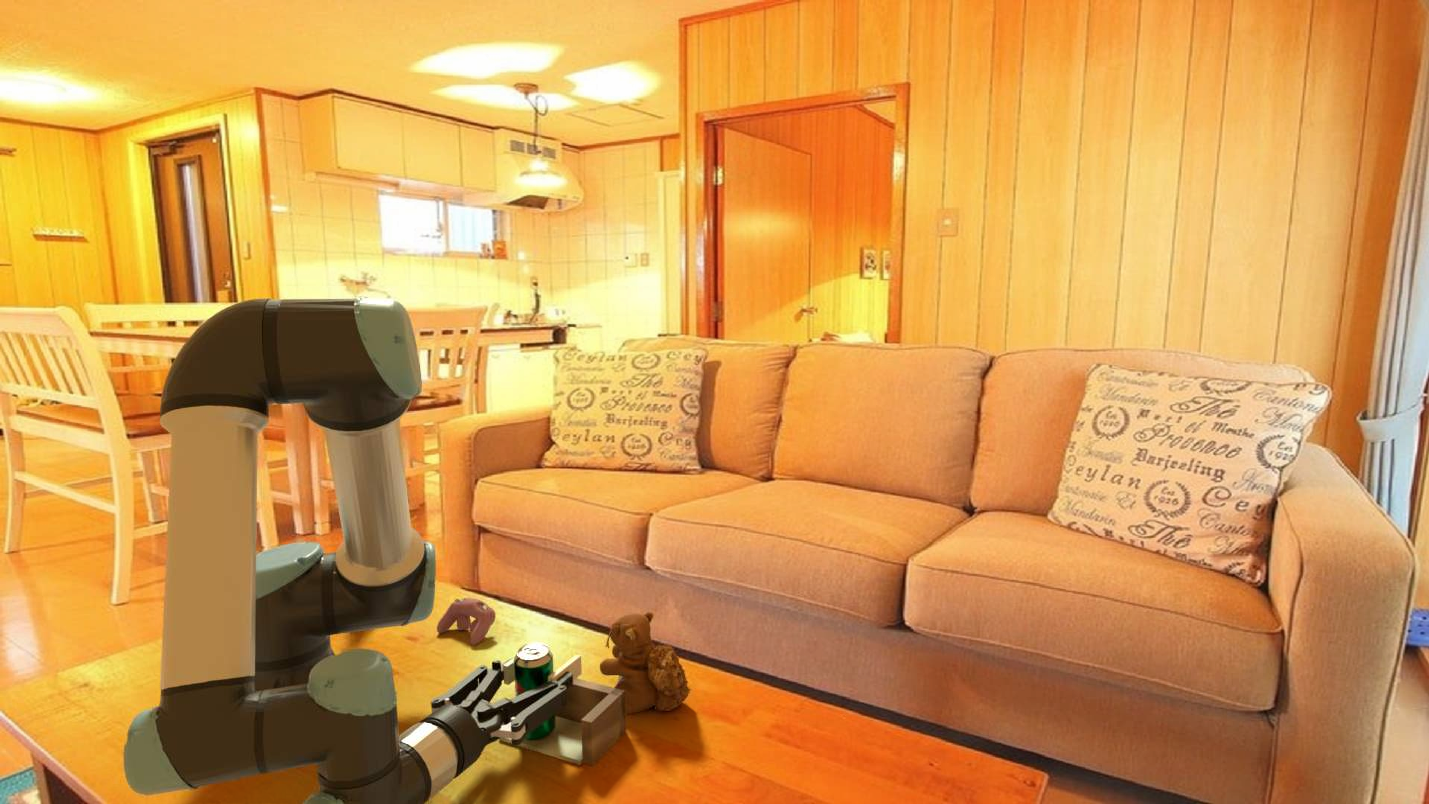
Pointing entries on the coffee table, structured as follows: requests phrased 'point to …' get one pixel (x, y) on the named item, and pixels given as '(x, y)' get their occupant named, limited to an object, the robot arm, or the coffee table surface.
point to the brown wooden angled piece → (584, 724)
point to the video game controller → (468, 618)
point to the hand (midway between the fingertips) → (557, 658)
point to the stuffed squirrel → (644, 666)
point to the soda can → (534, 678)
